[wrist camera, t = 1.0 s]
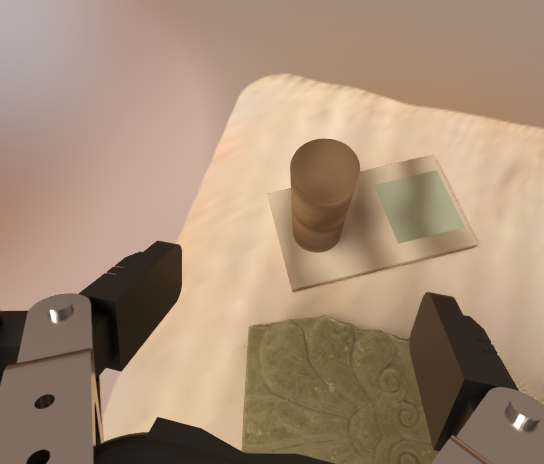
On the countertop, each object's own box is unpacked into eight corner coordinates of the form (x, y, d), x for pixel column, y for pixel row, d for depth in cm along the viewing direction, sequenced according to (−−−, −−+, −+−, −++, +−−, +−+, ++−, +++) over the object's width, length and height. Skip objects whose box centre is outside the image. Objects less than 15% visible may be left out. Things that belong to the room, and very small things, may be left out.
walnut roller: (332, 203, 37) (347, 132, 26) (347, 246, 36) (369, 188, 24) (287, 214, 37) (283, 147, 26) (299, 257, 35) (300, 205, 24)
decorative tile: (499, 571, 27) (528, 599, 23) (238, 557, 28) (231, 582, 25) (455, 320, 34) (472, 315, 30) (248, 319, 35) (243, 314, 32)
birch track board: (430, 159, 40) (433, 154, 39) (473, 247, 36) (478, 244, 35) (268, 197, 39) (267, 193, 38) (292, 291, 35) (292, 289, 34)
